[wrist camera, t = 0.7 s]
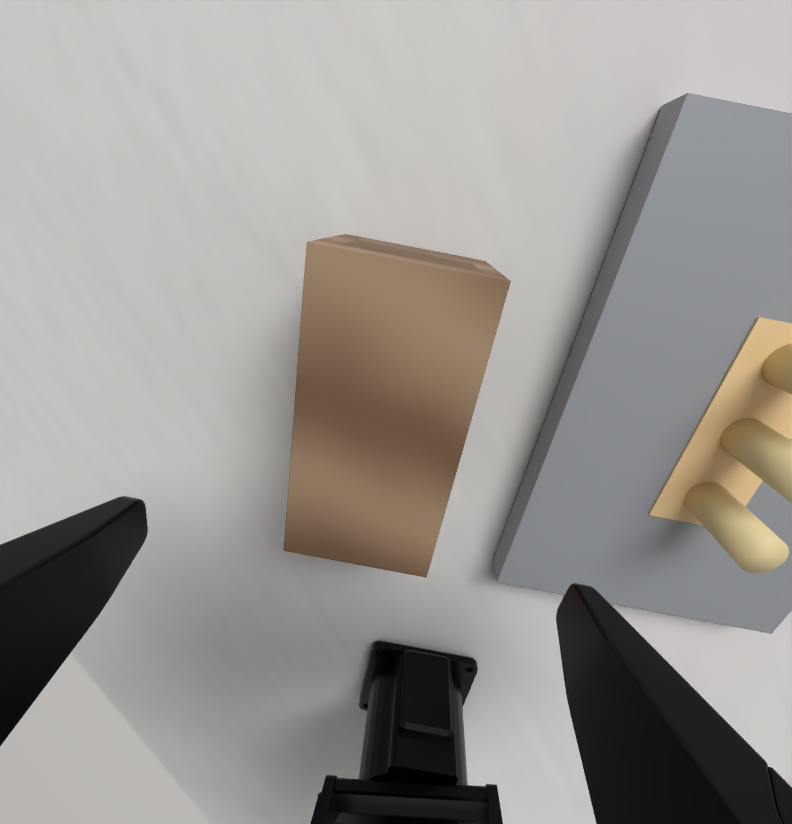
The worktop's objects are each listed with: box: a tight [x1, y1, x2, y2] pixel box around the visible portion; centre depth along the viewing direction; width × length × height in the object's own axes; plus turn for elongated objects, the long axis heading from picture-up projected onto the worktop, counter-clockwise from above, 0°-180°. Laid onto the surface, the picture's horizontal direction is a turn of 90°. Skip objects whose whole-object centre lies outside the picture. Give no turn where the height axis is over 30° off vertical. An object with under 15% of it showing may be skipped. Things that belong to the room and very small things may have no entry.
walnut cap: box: [284, 234, 511, 577], centre depth 16 cm, size 11×5×6 cm, turn 170°
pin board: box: [493, 93, 792, 634], centre depth 15 cm, size 20×14×5 cm
